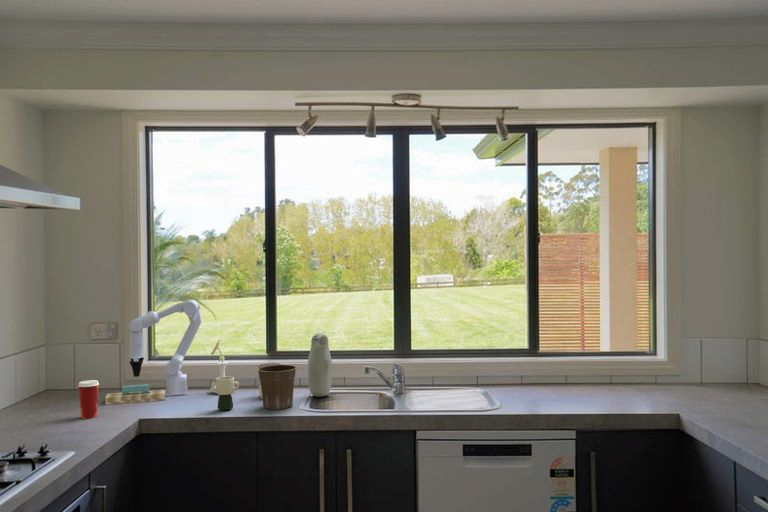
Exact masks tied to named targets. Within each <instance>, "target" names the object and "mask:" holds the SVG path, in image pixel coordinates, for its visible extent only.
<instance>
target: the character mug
mask: <svg viewBox="0 0 768 512" xmlns="http://www.w3.org/2000/svg"><path fill="white" fill-rule="evenodd" d="M215 381H216V382H212V383H211V387H210V388H211V390H212V391H216V392H217V393H216V394H217V395H219V396H218V398H217V399H218V400H217V409H218V410H221V411H228V410H230V409H233V408H234V402H233V395H232V394H234V392H235V391H237V390H239V389H240V388H239V387H240V384H239V383H240V382H239V381H235V377H234V376H225V377H220V376H219V377H217V378H216V379H215ZM214 385H216V389H214ZM234 386H235V388H234Z"/></svg>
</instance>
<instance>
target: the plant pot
mask: <svg viewBox="0 0 768 512" xmlns="http://www.w3.org/2000/svg"><path fill="white" fill-rule="evenodd" d="M296 370H297V366H296V365H291V364H281V365H271V366H264V367H260V368H259V367H258V368H257V369H256V371H257V372H258V373H257V374H258V380H259V379H260V382H261V390H262V398H261V399H262V405H263V408H264V409H267V410H268V409H269V410H277V411H278V410H283V409H288V408H291V407H293V405H294V388H295V377H296Z"/></svg>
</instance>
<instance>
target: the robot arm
mask: <svg viewBox="0 0 768 512" xmlns="http://www.w3.org/2000/svg"><path fill="white" fill-rule="evenodd" d="M175 313H181V314H182V313H184V314H185V315H186V316H187V318H188V320H189V322H190V323H189V325H188V327H187V328H186V331H185V332H184V334H183V337H182V338H181V341H180V342H179V345H178V346H177V349H176V351H175V352H174V355H173V356H172V357H171V359H170V360H169V361H168V362H167V364H166V365H165V369H164V370H165V397H169V396H171V397H172V396H182V395H183V396H184V395H188V393H187V391H188V384H187V383H188V381H187V380H188V379H187V375H188V374H187V373H183V372H182V371H181V370H182V367H183V361H184V359H185V357H186V354H187V352H188V350H189V348H190V346H191V344H192V342H193V340H194V339H195V336H196V334H197V332H198V331H199V329H200V326H201V324H202V322H203V320H202V313H201V306H200V305H199V303H198V301H196V300H195V299H189V300H188V299H187V300H185V301H181V302H177V303H176V304H173V305H171V306H169V307H167V308H164V309H162V310H160V311H154V310H153V311H151V310H150V311H148V312H147V313H146V314H144V315H141V316H140V315H139V316H137V318H135V319H133V320H131V321H130V322H129V323H128V329H129V331H130V332H129V354H128V355H127V358H131V359H130V360H129V364H130V366H131V369H132V375H133V377H134V378H137V377H140V374H141V371H142V365H143V363H144V359H145V358H144V357H145V354H144V329H147V328H149V327H152V326H155V325H156V324H158V323H160V320H161V319H163V318H165V317H168V316H170V315H172V314H175Z"/></svg>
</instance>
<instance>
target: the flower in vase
mask: <svg viewBox="0 0 768 512" xmlns="http://www.w3.org/2000/svg"><path fill="white" fill-rule="evenodd" d="M220 343H221V339H218V340H217V342H216V344H215V346H214V348H213V349H212V351H211V356H213V355H214V354H215V353H216V351H217V350H218V351H219V353H220V355H219V360H218V362H216V364H217V366H218V368H219V377H226V367H227V365H228V364H229V362H228V361H224V360H225V359H226V357H224V355H223V354H222V352H221V349H220V347H219V345H220ZM234 388H236V385H234ZM214 389H216V385H214ZM209 391H210V392H212V393H214V394H217V392H216V391H212V390H211V387H210V389H209Z"/></svg>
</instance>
